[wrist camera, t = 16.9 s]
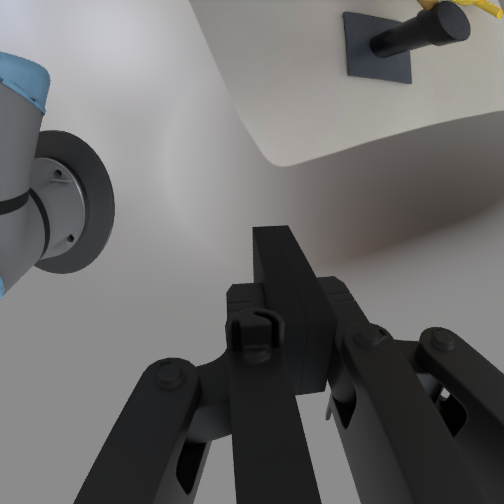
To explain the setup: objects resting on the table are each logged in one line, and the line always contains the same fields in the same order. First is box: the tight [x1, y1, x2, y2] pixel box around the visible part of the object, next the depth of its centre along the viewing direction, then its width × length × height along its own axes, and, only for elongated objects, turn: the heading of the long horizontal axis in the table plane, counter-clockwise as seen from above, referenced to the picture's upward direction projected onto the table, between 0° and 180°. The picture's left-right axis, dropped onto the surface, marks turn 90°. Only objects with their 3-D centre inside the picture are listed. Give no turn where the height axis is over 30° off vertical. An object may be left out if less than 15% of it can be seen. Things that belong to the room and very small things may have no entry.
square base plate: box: [343, 12, 431, 84], centre depth 28 cm, size 10×10×14 cm
